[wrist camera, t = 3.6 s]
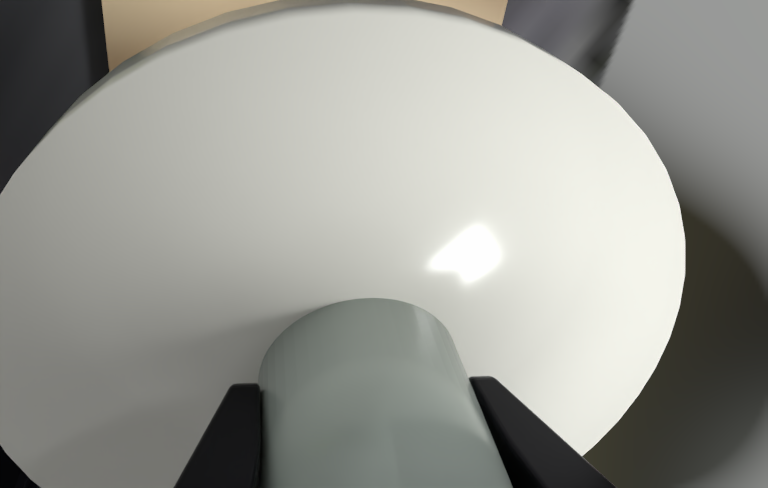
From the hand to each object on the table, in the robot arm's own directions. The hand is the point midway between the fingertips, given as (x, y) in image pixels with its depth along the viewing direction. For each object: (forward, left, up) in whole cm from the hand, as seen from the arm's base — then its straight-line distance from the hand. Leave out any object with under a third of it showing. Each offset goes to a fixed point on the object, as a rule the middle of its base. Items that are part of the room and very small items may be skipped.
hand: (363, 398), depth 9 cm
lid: (0, 0, -2) cm, 2 cm away
